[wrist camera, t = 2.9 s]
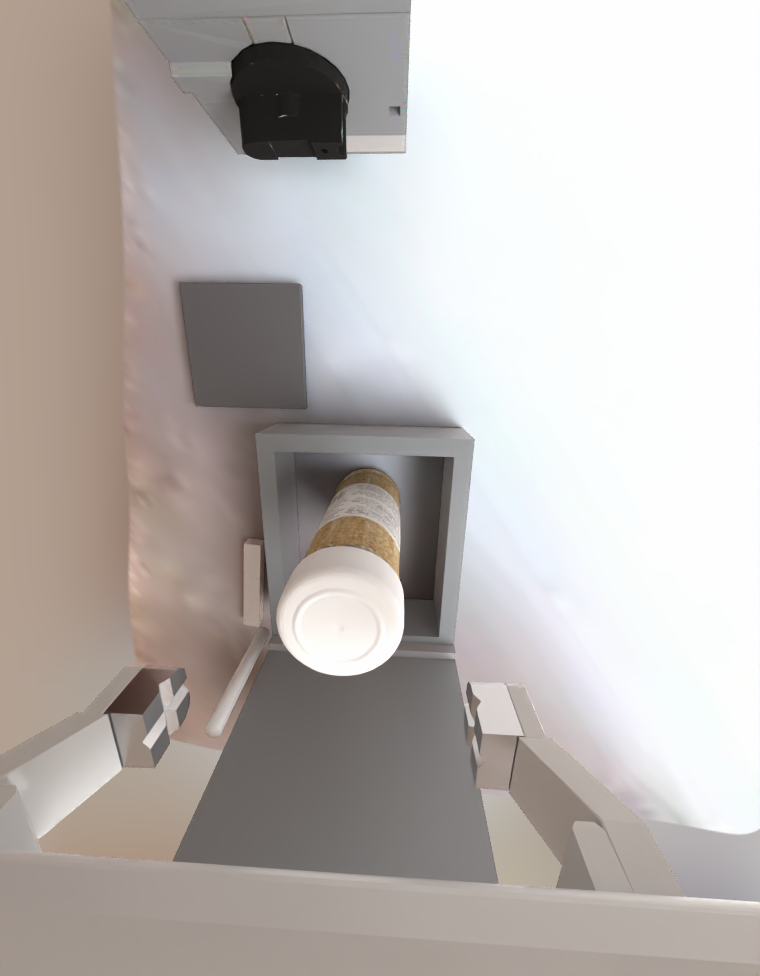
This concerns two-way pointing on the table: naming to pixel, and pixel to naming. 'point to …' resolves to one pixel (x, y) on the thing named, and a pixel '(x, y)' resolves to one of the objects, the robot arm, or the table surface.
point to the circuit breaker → (291, 71)
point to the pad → (246, 344)
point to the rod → (253, 582)
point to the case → (350, 710)
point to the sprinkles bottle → (348, 582)
